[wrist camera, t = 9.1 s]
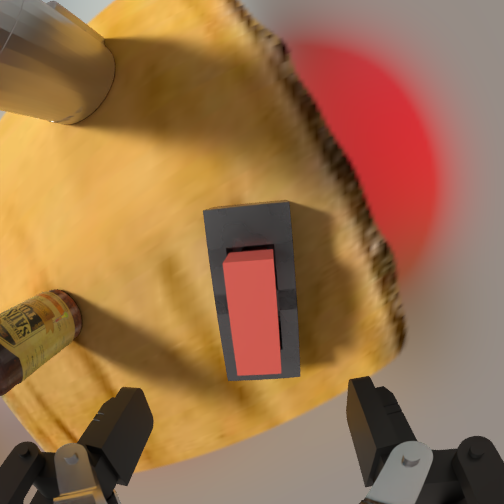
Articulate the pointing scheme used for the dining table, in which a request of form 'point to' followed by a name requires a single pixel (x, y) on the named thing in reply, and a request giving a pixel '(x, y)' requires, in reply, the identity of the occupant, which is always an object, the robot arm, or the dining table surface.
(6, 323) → the sauce bottle
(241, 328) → the red block
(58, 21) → the robot arm
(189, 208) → the dining table surface
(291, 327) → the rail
